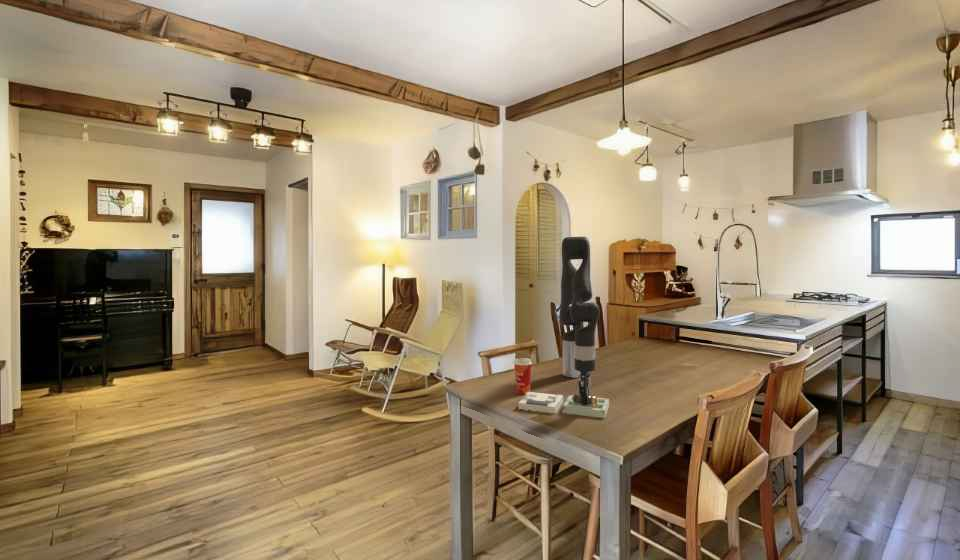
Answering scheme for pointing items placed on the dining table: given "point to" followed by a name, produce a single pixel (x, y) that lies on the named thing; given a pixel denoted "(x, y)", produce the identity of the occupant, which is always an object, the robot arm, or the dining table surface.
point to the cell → (591, 400)
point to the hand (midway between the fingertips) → (585, 403)
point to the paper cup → (523, 375)
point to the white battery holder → (541, 402)
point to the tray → (586, 408)
